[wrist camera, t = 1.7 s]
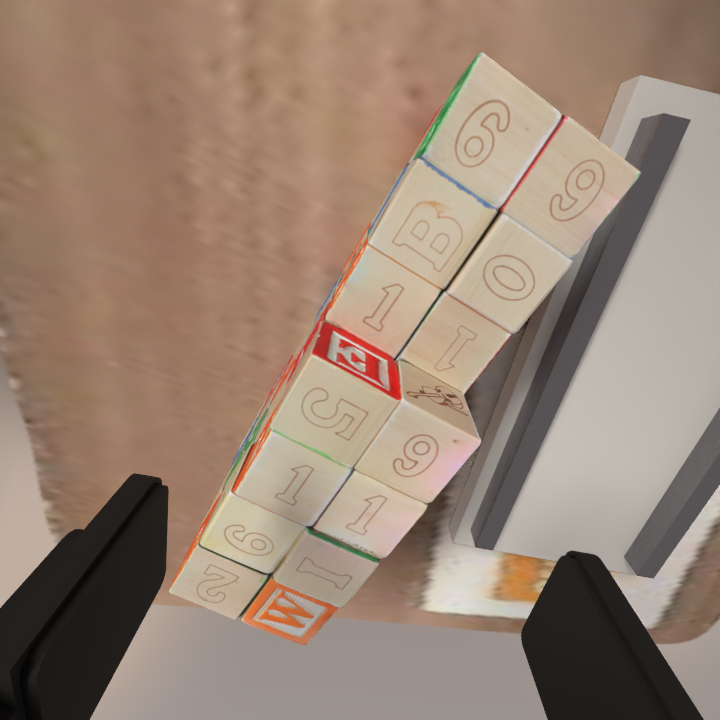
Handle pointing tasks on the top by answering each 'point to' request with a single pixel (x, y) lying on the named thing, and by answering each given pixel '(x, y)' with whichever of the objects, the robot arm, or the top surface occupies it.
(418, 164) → the stack of blocks
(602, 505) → the base board
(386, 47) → the top surface
